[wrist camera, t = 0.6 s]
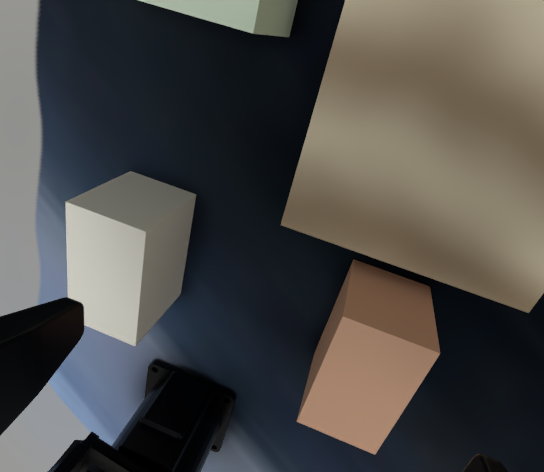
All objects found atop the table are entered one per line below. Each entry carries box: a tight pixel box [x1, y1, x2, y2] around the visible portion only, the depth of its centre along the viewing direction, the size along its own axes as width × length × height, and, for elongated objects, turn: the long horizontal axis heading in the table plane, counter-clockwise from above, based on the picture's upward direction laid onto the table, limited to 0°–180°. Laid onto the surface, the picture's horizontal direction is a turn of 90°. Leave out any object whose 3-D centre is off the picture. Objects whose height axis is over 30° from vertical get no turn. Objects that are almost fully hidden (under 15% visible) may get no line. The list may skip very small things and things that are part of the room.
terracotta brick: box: [297, 259, 440, 455], centre depth 19 cm, size 7×4×5 cm, turn 166°
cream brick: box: [66, 171, 196, 346], centre depth 21 cm, size 7×4×5 cm, turn 166°
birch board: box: [281, 0, 544, 313], centre depth 15 cm, size 14×12×1 cm
